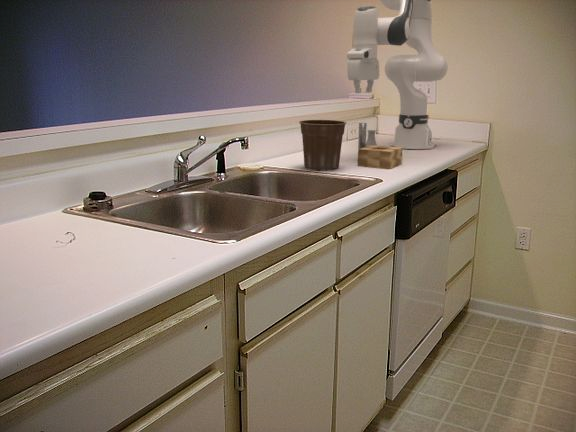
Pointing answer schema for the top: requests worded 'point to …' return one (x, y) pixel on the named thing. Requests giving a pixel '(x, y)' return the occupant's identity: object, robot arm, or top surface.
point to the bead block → (380, 156)
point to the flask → (371, 138)
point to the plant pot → (322, 143)
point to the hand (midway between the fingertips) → (363, 92)
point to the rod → (362, 135)
